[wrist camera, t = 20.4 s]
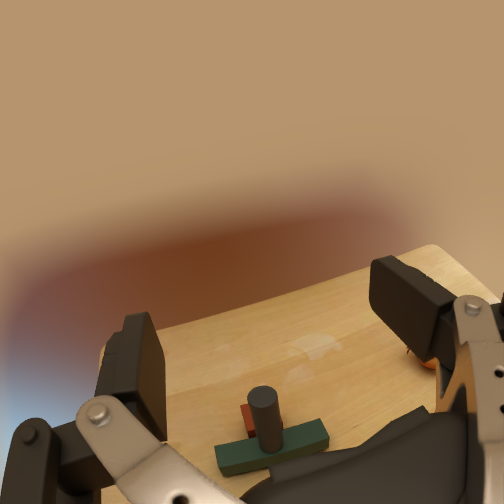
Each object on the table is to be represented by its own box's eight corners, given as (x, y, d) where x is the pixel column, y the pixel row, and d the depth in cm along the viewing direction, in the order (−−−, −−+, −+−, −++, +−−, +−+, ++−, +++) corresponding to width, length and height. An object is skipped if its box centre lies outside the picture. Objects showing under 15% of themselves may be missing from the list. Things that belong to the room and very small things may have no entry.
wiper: (224, 479, 27) (195, 424, 22) (220, 459, 30) (192, 398, 25) (328, 451, 29) (333, 387, 24) (319, 432, 31) (320, 366, 27)
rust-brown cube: (252, 447, 31) (246, 431, 29) (245, 423, 34) (239, 405, 33) (284, 439, 31) (282, 421, 30) (275, 415, 35) (273, 396, 33)
